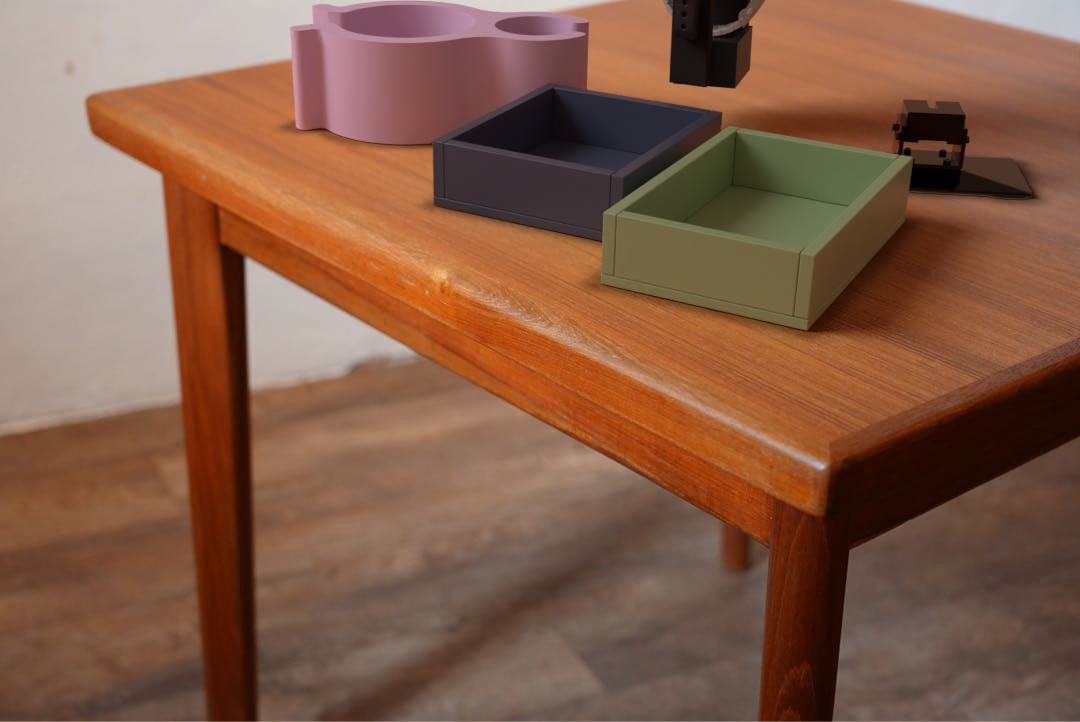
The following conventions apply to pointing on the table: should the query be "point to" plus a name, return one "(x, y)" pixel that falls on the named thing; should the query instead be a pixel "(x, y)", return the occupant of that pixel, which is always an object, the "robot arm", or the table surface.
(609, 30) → the table surface
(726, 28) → the watch
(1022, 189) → the dark piece
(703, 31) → the robot arm
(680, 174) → the green bin
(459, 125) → the pink double dish
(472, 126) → the blue bin
